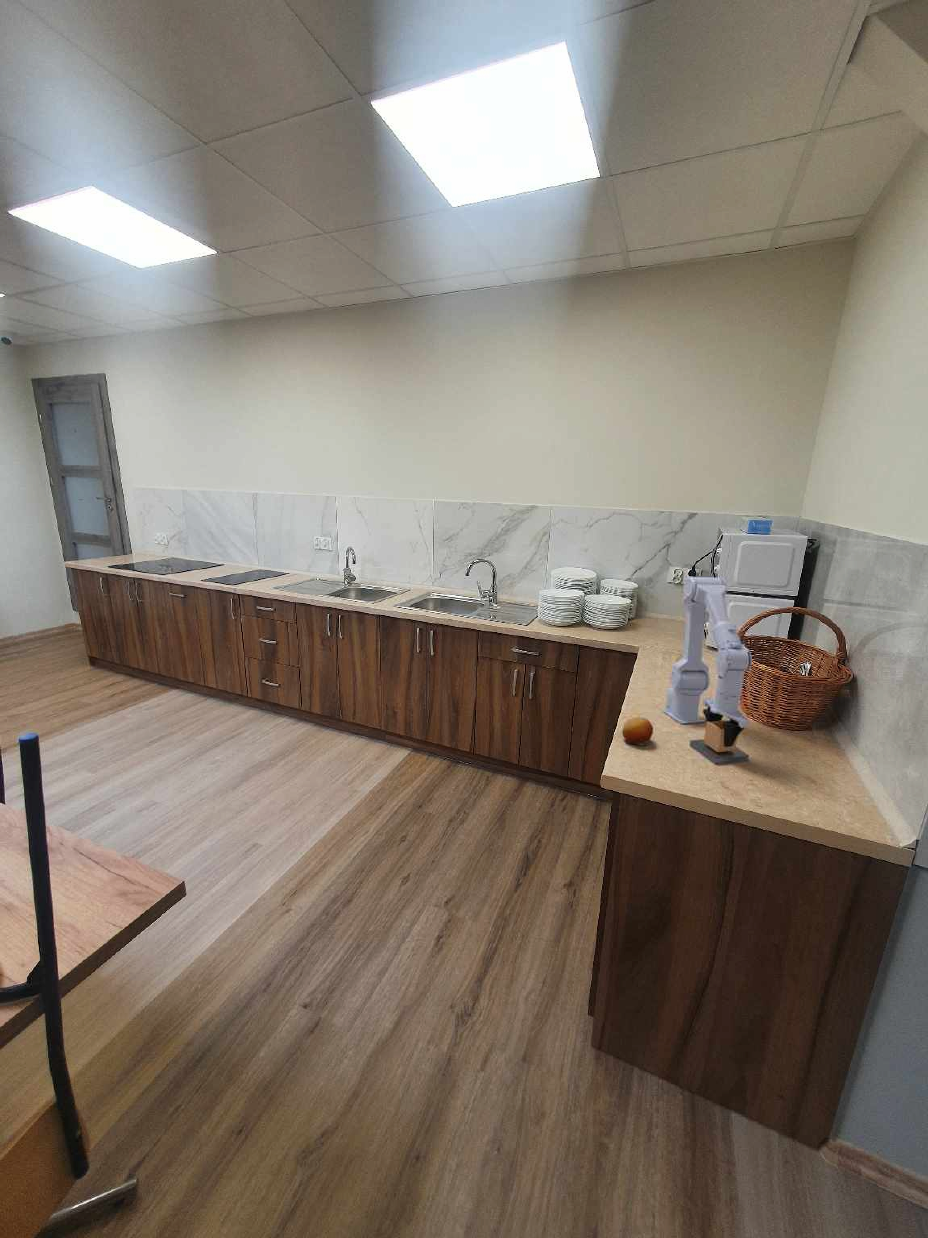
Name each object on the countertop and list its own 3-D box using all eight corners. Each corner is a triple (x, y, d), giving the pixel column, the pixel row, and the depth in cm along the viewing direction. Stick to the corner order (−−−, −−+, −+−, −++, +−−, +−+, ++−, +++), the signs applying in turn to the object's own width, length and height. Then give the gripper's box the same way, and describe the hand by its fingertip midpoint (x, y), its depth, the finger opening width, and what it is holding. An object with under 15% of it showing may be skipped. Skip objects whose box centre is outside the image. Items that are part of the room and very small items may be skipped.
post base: (689, 745, 139) (692, 723, 138) (720, 742, 141) (724, 721, 140) (715, 764, 130) (718, 741, 128) (748, 760, 132) (752, 737, 130)
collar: (703, 742, 137) (706, 721, 136) (720, 740, 138) (724, 720, 137) (717, 752, 132) (721, 731, 130) (735, 750, 133) (738, 729, 132)
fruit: (652, 748, 134) (640, 720, 135) (626, 753, 139) (614, 726, 140) (663, 738, 140) (651, 710, 141) (637, 743, 145) (626, 717, 146)
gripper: (696, 683, 137) (689, 729, 141) (735, 705, 124) (726, 755, 127) (718, 682, 139) (711, 727, 142) (759, 703, 125) (750, 753, 129)
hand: (720, 740), depth 135 cm, fingers closed on collar, 5 cm apart
